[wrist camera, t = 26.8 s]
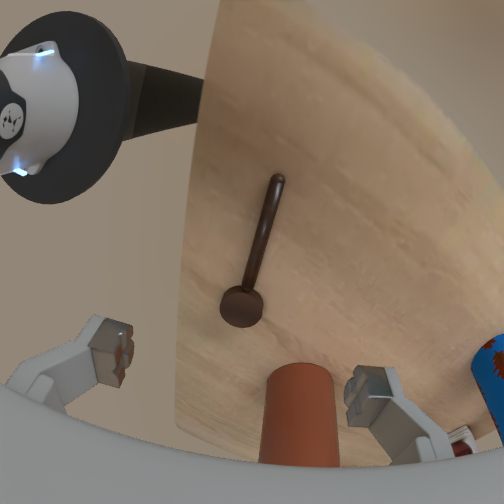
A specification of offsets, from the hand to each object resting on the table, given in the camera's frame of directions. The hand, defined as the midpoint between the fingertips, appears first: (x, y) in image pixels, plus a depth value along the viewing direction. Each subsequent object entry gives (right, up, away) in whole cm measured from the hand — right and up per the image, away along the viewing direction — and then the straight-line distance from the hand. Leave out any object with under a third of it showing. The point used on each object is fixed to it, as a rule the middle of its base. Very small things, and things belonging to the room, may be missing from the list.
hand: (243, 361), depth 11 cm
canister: (+8, -18, +39) cm, 44 cm away
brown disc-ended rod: (+1, +4, +29) cm, 30 cm away
